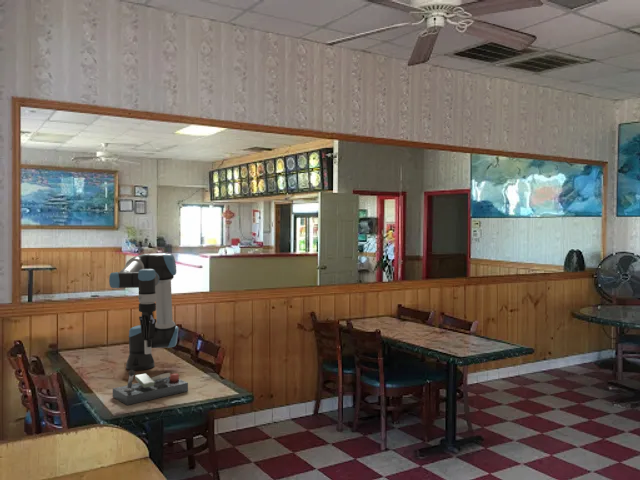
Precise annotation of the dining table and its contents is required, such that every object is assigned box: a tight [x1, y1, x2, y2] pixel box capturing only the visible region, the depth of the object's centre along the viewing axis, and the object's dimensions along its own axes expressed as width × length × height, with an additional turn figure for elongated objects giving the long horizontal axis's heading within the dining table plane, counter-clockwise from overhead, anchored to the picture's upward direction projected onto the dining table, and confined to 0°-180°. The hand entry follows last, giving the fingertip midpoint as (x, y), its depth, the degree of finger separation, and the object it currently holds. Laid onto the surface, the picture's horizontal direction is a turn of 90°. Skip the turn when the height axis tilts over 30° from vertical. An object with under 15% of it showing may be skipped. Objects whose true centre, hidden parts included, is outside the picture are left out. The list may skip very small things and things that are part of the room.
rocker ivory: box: [150, 372, 171, 381], centre depth 266 cm, size 10×5×2 cm, turn 42°
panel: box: [112, 377, 189, 406], centre depth 263 cm, size 16×30×5 cm, turn 132°
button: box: [169, 372, 180, 382], centre depth 271 cm, size 4×4×3 cm
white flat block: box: [134, 373, 155, 388], centre depth 261 cm, size 10×5×2 cm, turn 43°
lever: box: [127, 370, 136, 389], centre depth 255 cm, size 3×3×10 cm
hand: (148, 353), depth 258 cm, fingers closed
